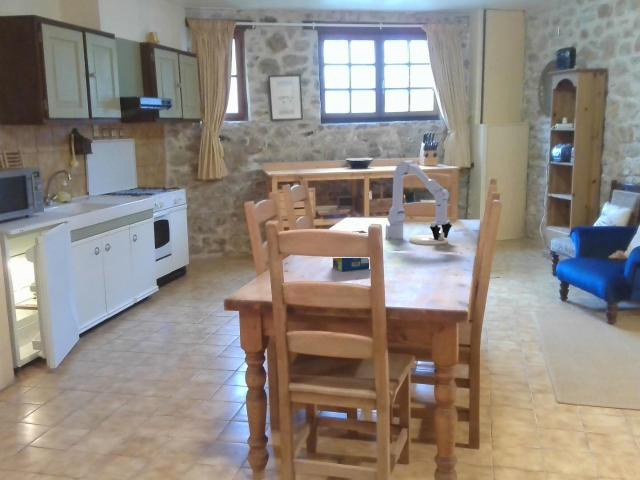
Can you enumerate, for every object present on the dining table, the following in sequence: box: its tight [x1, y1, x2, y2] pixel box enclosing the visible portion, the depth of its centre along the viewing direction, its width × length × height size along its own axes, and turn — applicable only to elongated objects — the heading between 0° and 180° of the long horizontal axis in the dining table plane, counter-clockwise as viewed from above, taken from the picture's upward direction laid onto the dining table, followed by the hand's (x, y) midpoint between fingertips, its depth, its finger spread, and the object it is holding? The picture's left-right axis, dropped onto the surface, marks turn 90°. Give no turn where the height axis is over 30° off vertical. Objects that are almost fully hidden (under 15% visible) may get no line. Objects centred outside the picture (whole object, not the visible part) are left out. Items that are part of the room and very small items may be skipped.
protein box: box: [332, 230, 369, 272], centre depth 269 cm, size 10×15×16 cm
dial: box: [408, 230, 449, 246], centre depth 321 cm, size 20×20×6 cm
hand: (440, 238), depth 316 cm, fingers open, 7 cm apart
